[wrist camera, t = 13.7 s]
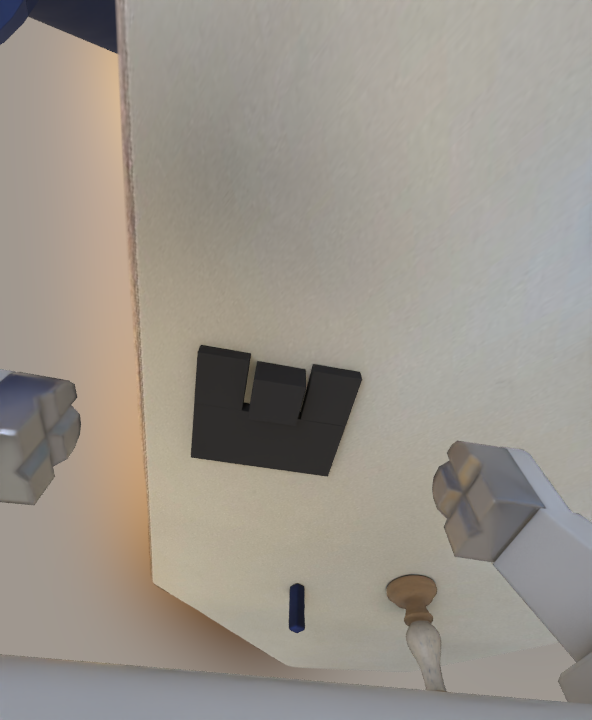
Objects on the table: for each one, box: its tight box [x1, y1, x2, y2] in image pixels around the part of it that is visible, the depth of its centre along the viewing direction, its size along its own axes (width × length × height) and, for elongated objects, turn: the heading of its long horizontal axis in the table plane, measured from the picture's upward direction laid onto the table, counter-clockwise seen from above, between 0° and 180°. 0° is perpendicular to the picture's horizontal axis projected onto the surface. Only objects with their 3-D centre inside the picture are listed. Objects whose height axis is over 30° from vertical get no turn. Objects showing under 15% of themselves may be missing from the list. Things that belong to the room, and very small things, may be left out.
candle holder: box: [386, 575, 447, 692], centre depth 58 cm, size 9×9×20 cm
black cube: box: [248, 362, 306, 426], centre depth 42 cm, size 6×6×4 cm
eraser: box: [289, 584, 305, 633], centre depth 64 cm, size 2×2×7 cm
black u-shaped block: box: [191, 345, 362, 476], centre depth 45 cm, size 18×16×2 cm
